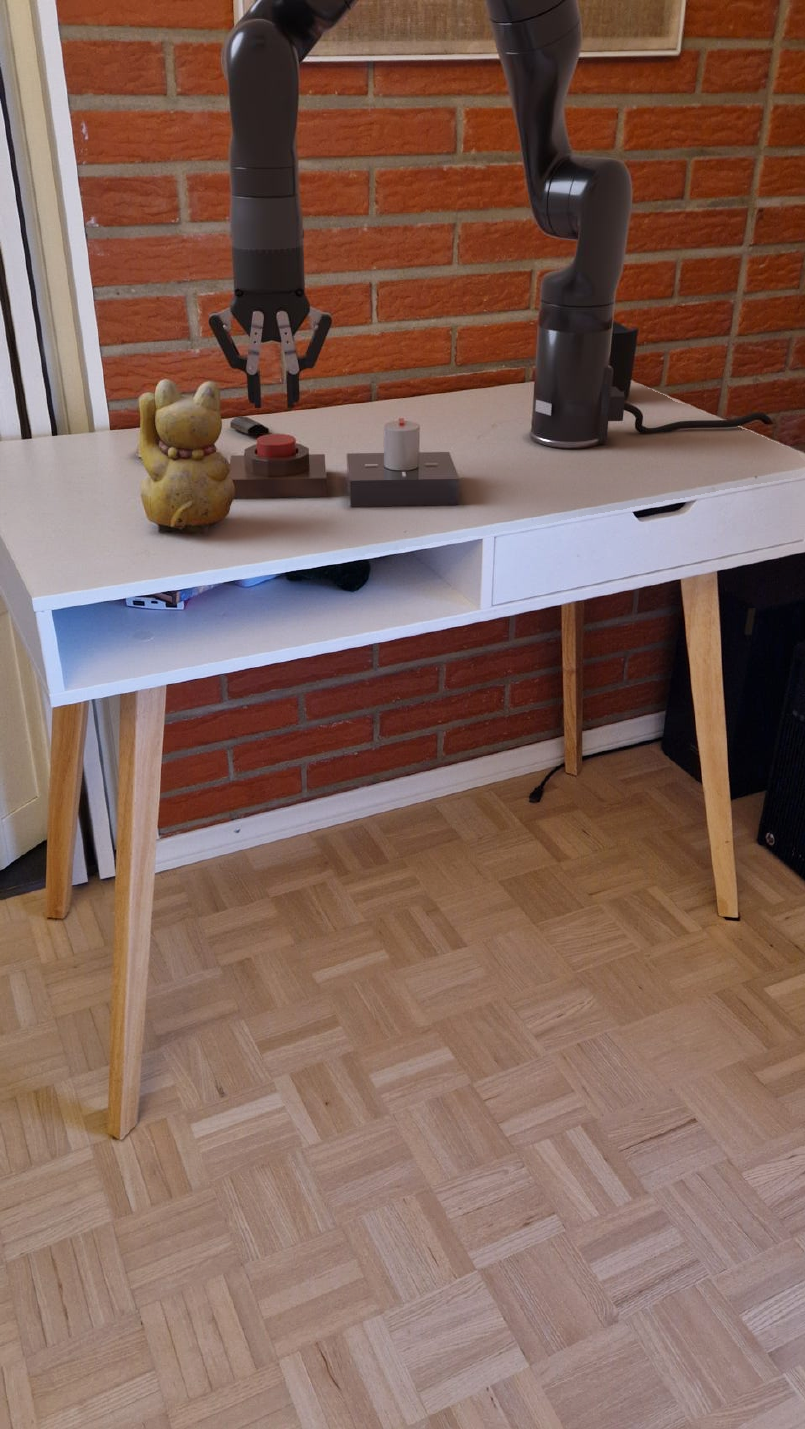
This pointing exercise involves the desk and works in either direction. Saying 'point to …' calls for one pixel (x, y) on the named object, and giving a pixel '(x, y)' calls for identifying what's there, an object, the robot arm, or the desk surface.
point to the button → (276, 445)
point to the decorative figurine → (183, 459)
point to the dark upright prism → (622, 356)
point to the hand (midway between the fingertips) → (274, 405)
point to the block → (248, 426)
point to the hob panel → (402, 481)
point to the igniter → (278, 475)
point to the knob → (401, 445)
